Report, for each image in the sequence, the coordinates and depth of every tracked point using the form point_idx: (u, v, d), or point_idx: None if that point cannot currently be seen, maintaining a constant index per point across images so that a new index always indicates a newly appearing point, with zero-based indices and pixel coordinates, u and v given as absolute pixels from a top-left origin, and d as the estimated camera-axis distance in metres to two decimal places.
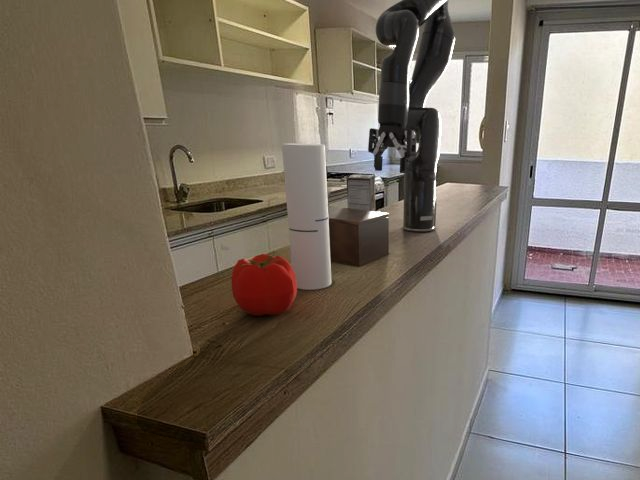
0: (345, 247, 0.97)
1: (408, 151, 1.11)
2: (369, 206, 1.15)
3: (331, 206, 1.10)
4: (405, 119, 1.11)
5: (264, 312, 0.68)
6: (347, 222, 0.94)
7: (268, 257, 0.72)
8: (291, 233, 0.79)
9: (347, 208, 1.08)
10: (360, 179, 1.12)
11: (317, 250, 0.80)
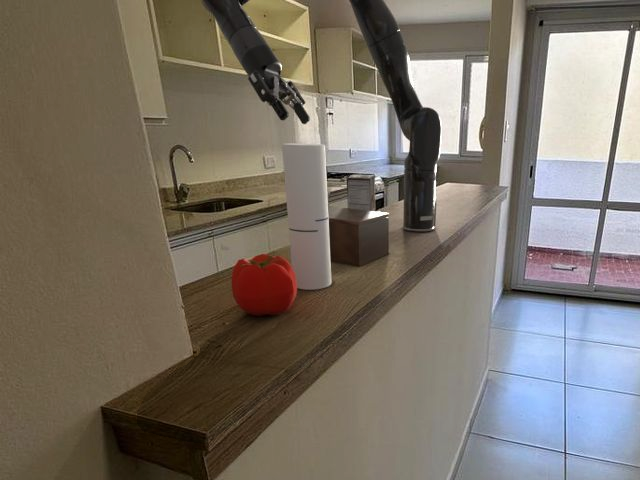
0: (345, 247, 0.97)
1: None
2: (369, 206, 1.15)
3: (331, 206, 1.10)
4: (254, 64, 0.96)
5: (264, 312, 0.68)
6: (347, 222, 0.94)
7: (268, 257, 0.72)
8: (291, 233, 0.79)
9: (347, 208, 1.08)
10: (360, 179, 1.12)
11: (317, 250, 0.80)
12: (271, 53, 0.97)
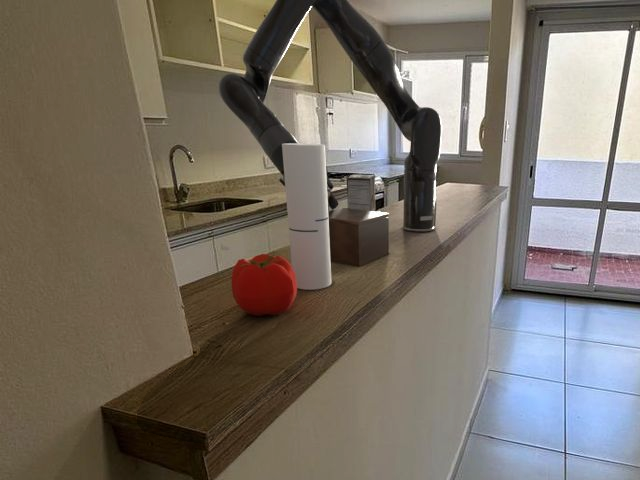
0: (345, 247, 0.97)
1: None
2: (369, 206, 1.15)
3: None
4: (282, 161, 1.00)
5: (264, 312, 0.68)
6: (347, 222, 0.94)
7: (268, 257, 0.72)
8: (291, 233, 0.79)
9: (347, 208, 1.08)
10: (360, 179, 1.12)
11: (317, 250, 0.80)
12: None
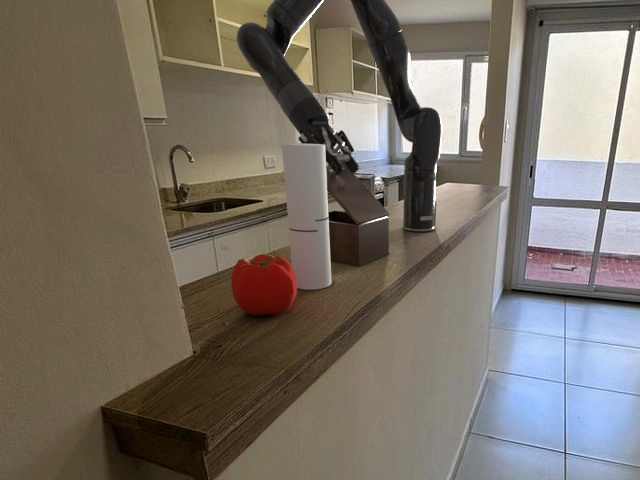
0: (345, 247, 0.97)
1: None
2: None
3: None
4: (301, 119, 0.94)
5: (264, 312, 0.68)
6: (349, 214, 0.93)
7: (268, 257, 0.72)
8: (291, 233, 0.79)
9: (357, 178, 1.04)
10: (360, 179, 1.12)
11: (317, 250, 0.80)
12: (317, 104, 0.95)
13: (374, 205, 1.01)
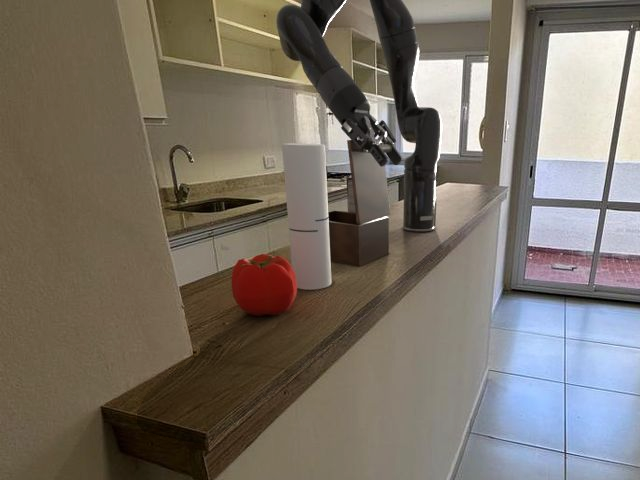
0: (345, 247, 0.97)
1: None
2: None
3: None
4: (343, 107, 0.89)
5: (264, 312, 0.68)
6: (356, 210, 0.92)
7: (268, 257, 0.72)
8: (291, 233, 0.79)
9: None
10: None
11: (317, 250, 0.80)
12: (359, 92, 0.90)
13: (382, 202, 1.00)
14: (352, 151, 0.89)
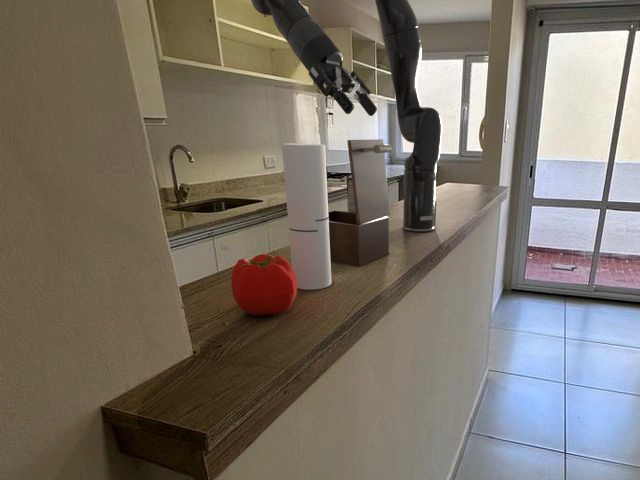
0: (345, 247, 0.97)
1: None
2: None
3: (382, 140, 0.98)
4: (314, 58, 0.88)
5: (264, 312, 0.68)
6: (356, 210, 0.92)
7: (268, 257, 0.72)
8: (291, 233, 0.79)
9: (384, 163, 0.99)
10: None
11: (317, 250, 0.80)
12: (330, 42, 0.89)
13: (382, 202, 1.00)
14: (352, 151, 0.89)
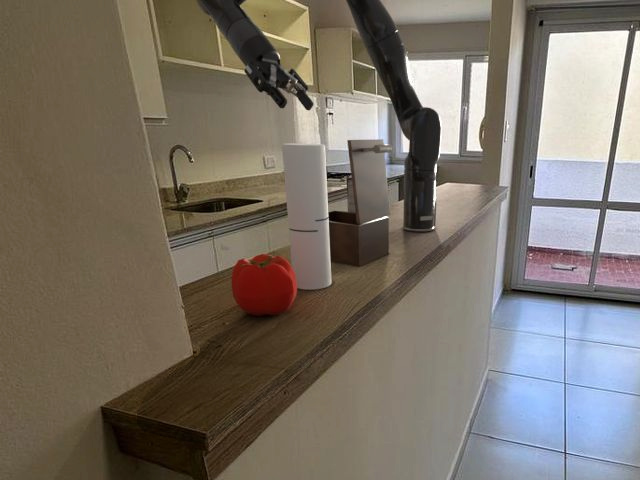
0: (345, 247, 0.97)
1: None
2: None
3: (382, 140, 0.98)
4: (250, 56, 0.95)
5: (264, 312, 0.68)
6: (356, 210, 0.92)
7: (268, 257, 0.72)
8: (291, 233, 0.79)
9: (384, 163, 0.99)
10: None
11: (317, 250, 0.80)
12: (266, 42, 0.96)
13: (382, 202, 1.00)
14: (352, 151, 0.89)
